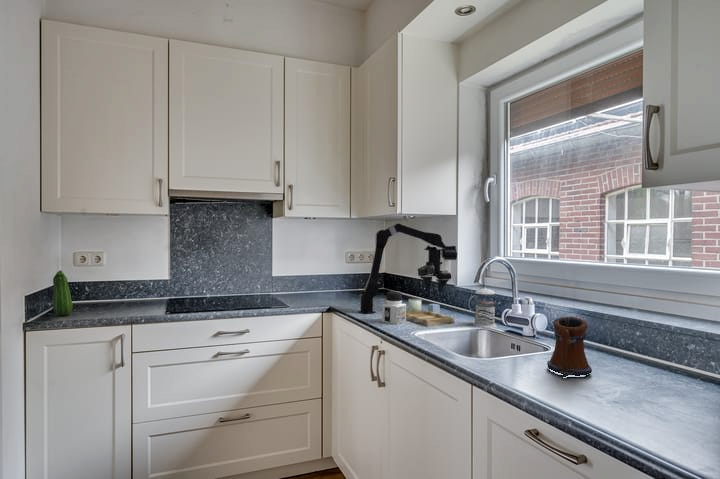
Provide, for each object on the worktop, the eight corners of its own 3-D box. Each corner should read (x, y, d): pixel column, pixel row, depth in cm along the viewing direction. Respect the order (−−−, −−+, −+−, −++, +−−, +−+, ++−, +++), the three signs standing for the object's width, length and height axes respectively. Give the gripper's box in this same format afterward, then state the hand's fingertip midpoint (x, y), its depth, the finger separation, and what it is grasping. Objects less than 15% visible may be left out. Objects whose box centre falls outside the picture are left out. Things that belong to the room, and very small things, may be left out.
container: (396, 324, 186) (397, 293, 185) (381, 322, 190) (381, 291, 190) (406, 321, 192) (406, 291, 191) (391, 319, 196) (391, 290, 196)
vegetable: (71, 316, 194) (71, 270, 194) (51, 317, 191) (51, 271, 190) (73, 313, 200) (73, 269, 200) (54, 314, 197) (54, 269, 197)
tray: (400, 317, 201) (400, 312, 201) (425, 315, 208) (425, 310, 208) (427, 326, 183) (427, 320, 183) (454, 323, 190) (454, 318, 190)
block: (427, 312, 214) (427, 304, 214) (434, 311, 216) (434, 303, 216) (432, 314, 211) (433, 305, 211) (439, 313, 213) (439, 305, 213)
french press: (498, 328, 181) (499, 266, 180) (468, 326, 183) (469, 266, 183) (495, 323, 191) (496, 265, 190) (467, 321, 193) (468, 264, 192)
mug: (585, 388, 112) (587, 329, 112) (537, 379, 119) (538, 323, 118) (594, 370, 127) (595, 318, 127) (551, 363, 134) (552, 313, 133)
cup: (405, 314, 210) (406, 299, 209) (416, 313, 212) (416, 298, 212) (413, 316, 204) (413, 300, 204) (423, 315, 207) (424, 300, 207)
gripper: (409, 258, 217) (408, 290, 218) (433, 261, 201) (432, 296, 201) (427, 258, 223) (427, 289, 223) (452, 261, 206) (451, 294, 207)
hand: (433, 292), depth 213 cm, fingers open, 9 cm apart
